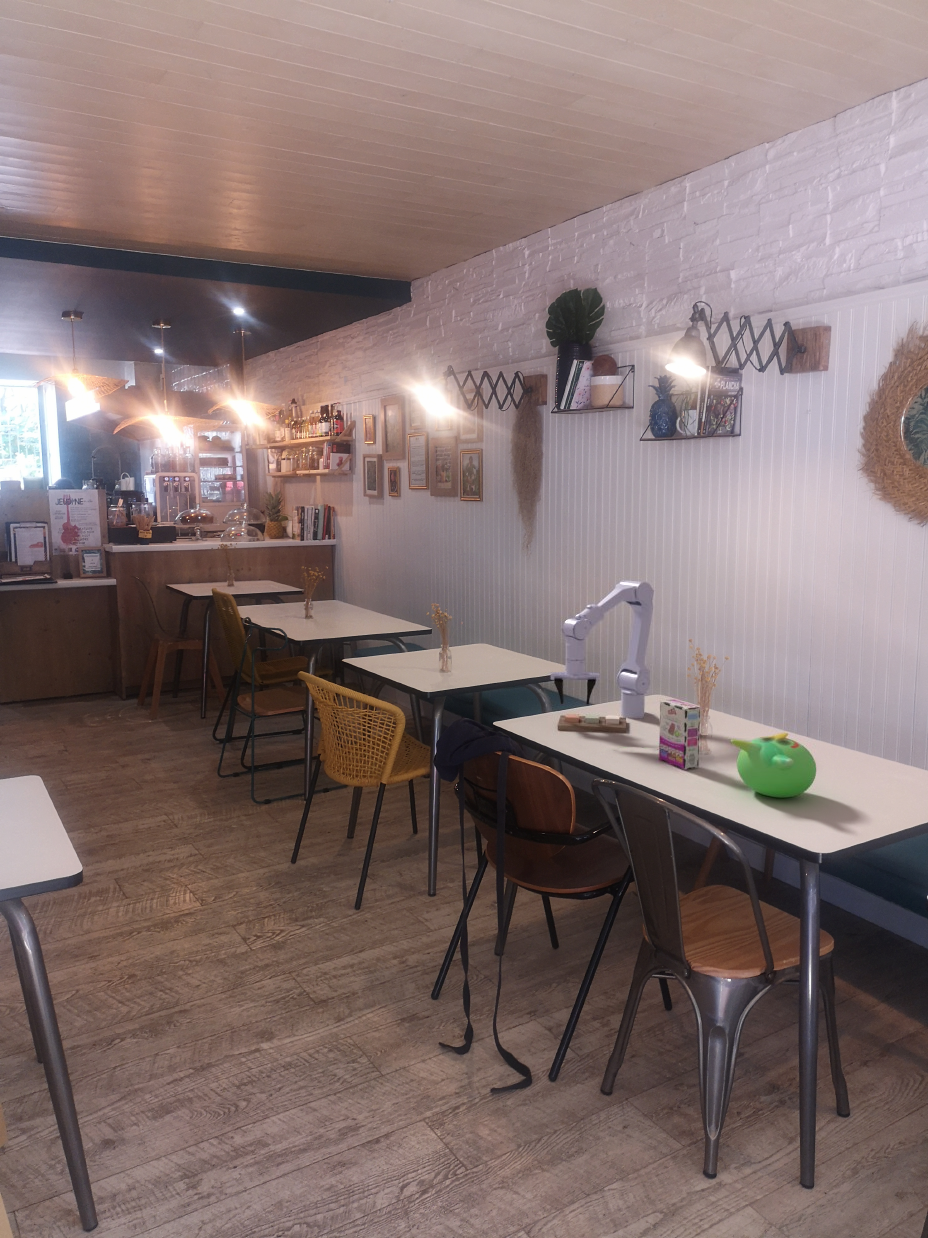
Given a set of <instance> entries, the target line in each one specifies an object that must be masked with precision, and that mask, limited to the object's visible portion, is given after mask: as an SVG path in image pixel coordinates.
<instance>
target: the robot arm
mask: <svg viewBox="0 0 928 1238" xmlns="http://www.w3.org/2000/svg"><path fill="white" fill-rule="evenodd" d="M654 591H655V590H654V588H653V587H652V585H651V584H650V583H648V581H647V582H646V581H634V580H629V579H623V580H621V581H620V582H619V583H617V584H615V588H614V589H613V590H612V591H611V592H610V593H609V594H607V595H606V597H604V598H603V599H602V600H601V601H599V602H598V603H597V604H593V603H592V604H588V605H586V606H585V607H586V608H584V610H582V611H581V612H580V613H579V614H578V613H577V614H576V615H575V616H574V617H573V618H568V619H567V620H566V621H564V623H563V624H562V628H561V630H560V631H561V633H562V635H563V636H564V642H565V671H555V672H553V671H552V672H550V680H551V681H553V682H554V683H553V684H554V686H555V688H556V689H557V692H558V696H559V700H560V704H561V705H562V704H564V698H565V697H564V681H565V680H567V681H568V680H569V681H586V691H587V692H586V704H585V705H587V706H588V705H590V700H591V694H592V692H593V690H594V688H595V686H596V682H599V681H600V678H601V675H600V673H599V672H588V671H587V672H586V671H585V670H586V661H585V660H586V659H585V658H586V638H587V637H588V636H589V634H590V631H591V630H592V629H593V628H594V627H595V626H597V625H598V624H599V623H600V622H602V621H603V620H604V618H605V614H606V613H608V612H609V611H610V610H612V609H614V608H615V607H617V606H618V605H619V604H621V603H622V602H625V603H627V604H628V605H629V606H630V607H631V609H632V610H633V612H634V613H633V619H632V624H631V625H632V626H631V631H630V633H631V634H630V639H629V645H628V650H627V651H628V652H627V658H626V661H625V662H623V663H622V664H621V665H620V667H619V668H620V669H619V672H618V673H617V675H616V679H615V680H616V682H615V683H616V684H617V686H618V688H619V691H620V692H621V695H620V696H621V700H620V701H621V703H620V715H621V716H620V717H626V719H642V718H644V717H645V706H646V703H645V698H646V697H645V694H647V692H648V690H649V689H650V686H651V678H650V673H651V670H650V669H649V668H648V666H647V665H646V663H645V662H646V657H647V649H648V644H649V637H650V631H651V623H652V618H653V612H654V611H653V610H654V604H653V599H654Z"/></svg>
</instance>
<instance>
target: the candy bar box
mask: <svg viewBox="0 0 928 1238" xmlns="http://www.w3.org/2000/svg"><path fill="white" fill-rule="evenodd" d="M659 701H660V702H659V704H660V706H659V710H660V711H659V743H658V745H659V747H658V751H659V752H658V760H659V761H661V762H664V763H666V764H668V765H671V766H673V767H676V768H678V769H681V770H683V771H688V770H694V769H699V765H700V764H699V763H700V762H699V760H700V759H699V757H700V724H701V707H700V706H697V705H693V704H690V703H687V702H684V701H681V700H677V699H665V700H659Z"/></svg>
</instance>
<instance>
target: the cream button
mask: <svg viewBox="0 0 928 1238" xmlns="http://www.w3.org/2000/svg"><path fill="white" fill-rule="evenodd" d="M605 717H606V724H619V717H620V715H612V714H611V715H608V714H607V715H605Z"/></svg>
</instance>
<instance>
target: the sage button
mask: <svg viewBox="0 0 928 1238" xmlns="http://www.w3.org/2000/svg"><path fill="white" fill-rule="evenodd" d="M585 716H586V717H585V723H599V717H600V714H585Z"/></svg>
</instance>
